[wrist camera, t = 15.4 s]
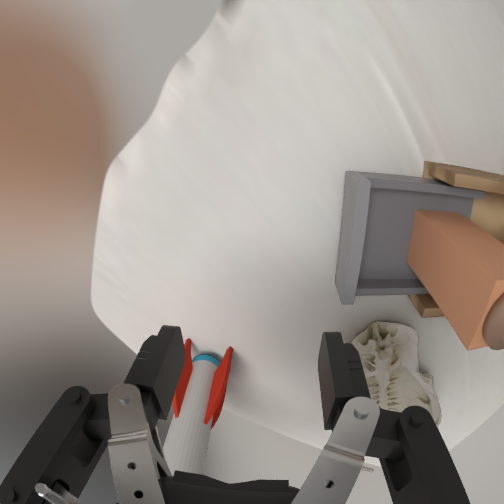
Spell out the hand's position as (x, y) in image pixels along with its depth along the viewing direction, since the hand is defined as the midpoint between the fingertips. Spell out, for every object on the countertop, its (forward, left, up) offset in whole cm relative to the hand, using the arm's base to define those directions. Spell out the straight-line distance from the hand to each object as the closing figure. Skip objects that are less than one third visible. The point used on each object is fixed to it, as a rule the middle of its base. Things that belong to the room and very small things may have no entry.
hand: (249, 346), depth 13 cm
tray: (0, +13, -14) cm, 19 cm away
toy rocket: (+17, -6, -16) cm, 24 cm away
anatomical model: (+22, +16, -16) cm, 32 cm away
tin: (0, +16, -13) cm, 21 cm away
